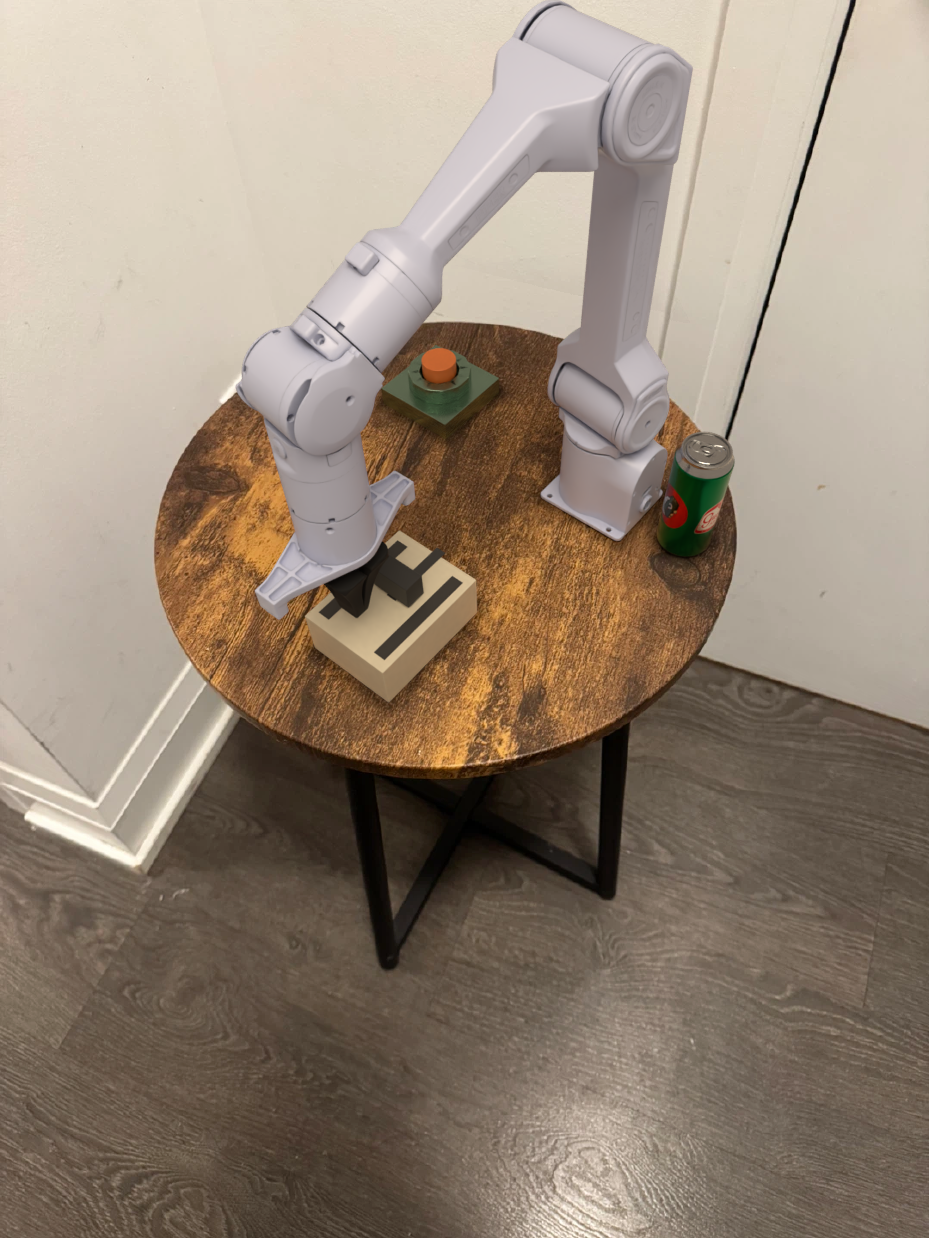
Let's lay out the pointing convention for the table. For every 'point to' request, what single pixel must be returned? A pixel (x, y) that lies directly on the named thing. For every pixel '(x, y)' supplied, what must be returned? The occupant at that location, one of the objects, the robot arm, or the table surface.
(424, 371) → the button
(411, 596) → the block
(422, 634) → the toaster
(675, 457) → the soda can
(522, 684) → the table surface
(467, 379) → the panel
